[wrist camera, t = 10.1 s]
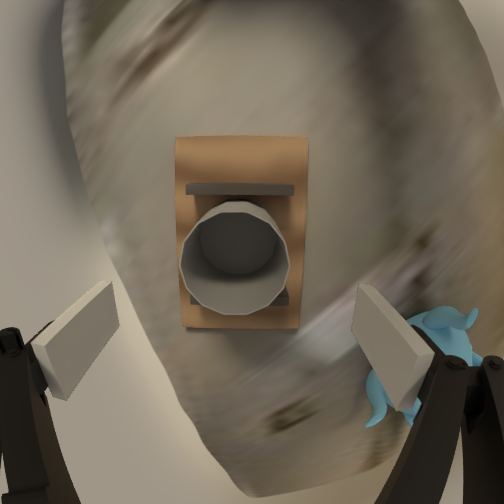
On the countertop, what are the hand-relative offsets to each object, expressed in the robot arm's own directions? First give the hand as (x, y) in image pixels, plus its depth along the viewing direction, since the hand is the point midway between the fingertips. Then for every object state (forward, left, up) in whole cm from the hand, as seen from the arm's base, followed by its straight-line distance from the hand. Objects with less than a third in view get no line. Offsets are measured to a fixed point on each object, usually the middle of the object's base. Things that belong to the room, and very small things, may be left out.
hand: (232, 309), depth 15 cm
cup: (0, 0, -18) cm, 18 cm away
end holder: (0, 0, -19) cm, 19 cm away
